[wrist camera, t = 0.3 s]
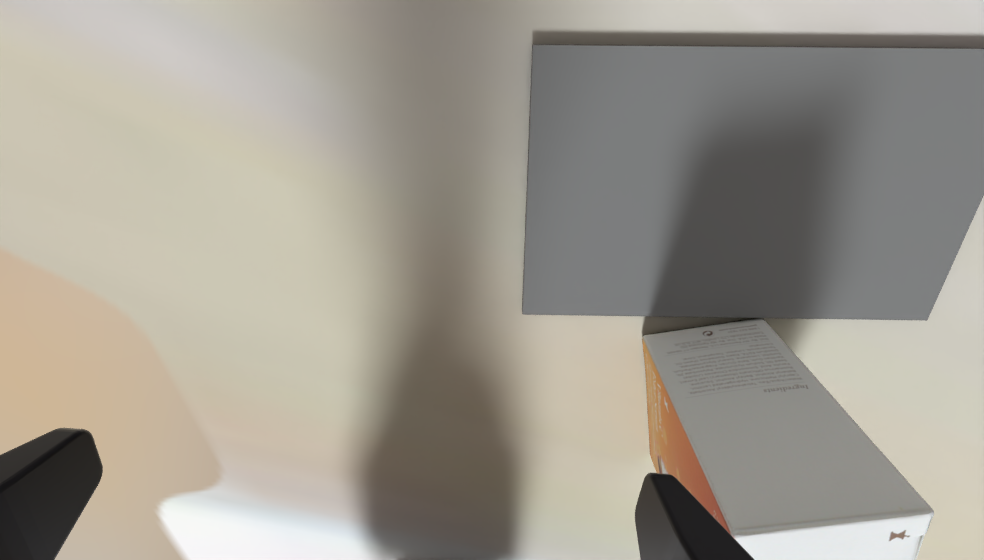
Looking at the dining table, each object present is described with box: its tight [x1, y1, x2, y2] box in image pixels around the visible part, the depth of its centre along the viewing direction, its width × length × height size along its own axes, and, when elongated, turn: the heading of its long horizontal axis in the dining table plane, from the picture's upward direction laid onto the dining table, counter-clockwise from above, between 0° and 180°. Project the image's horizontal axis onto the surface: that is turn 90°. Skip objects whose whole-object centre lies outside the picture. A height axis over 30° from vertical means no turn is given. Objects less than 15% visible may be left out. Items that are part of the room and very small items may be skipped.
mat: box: [522, 45, 984, 320], centre depth 21 cm, size 11×18×1 cm, turn 90°
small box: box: [642, 318, 934, 560], centre depth 21 cm, size 8×6×10 cm
